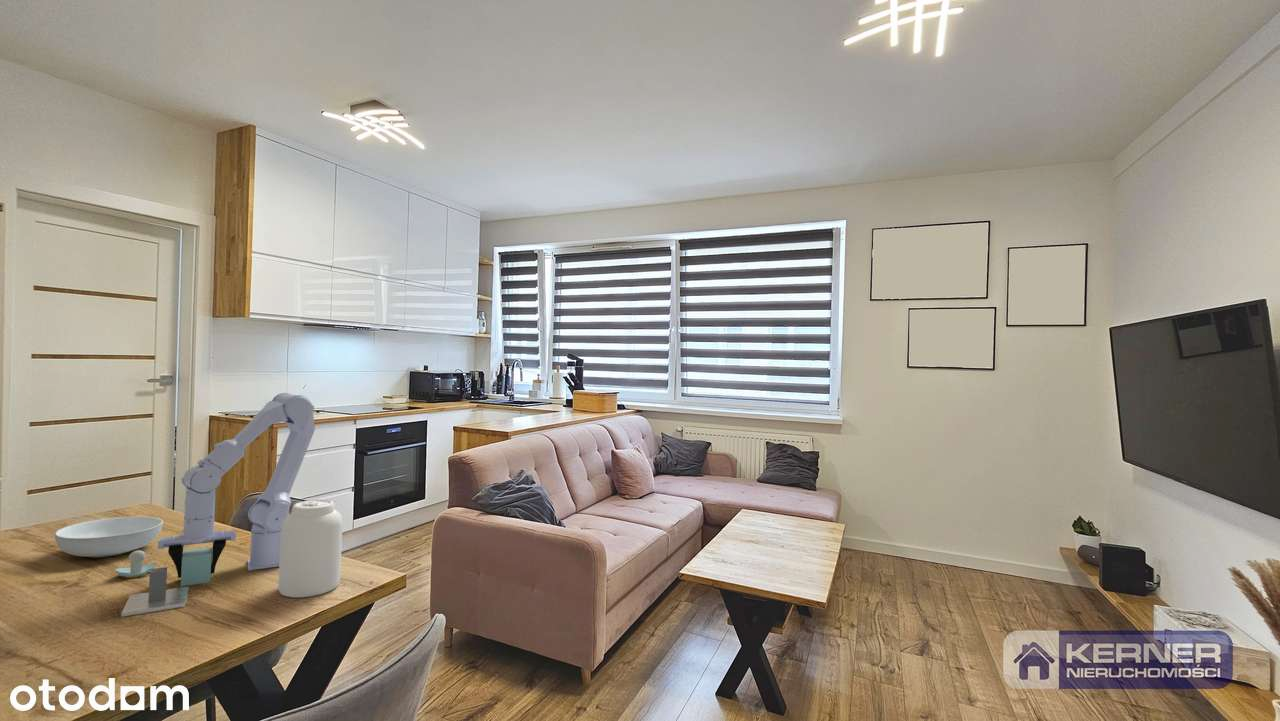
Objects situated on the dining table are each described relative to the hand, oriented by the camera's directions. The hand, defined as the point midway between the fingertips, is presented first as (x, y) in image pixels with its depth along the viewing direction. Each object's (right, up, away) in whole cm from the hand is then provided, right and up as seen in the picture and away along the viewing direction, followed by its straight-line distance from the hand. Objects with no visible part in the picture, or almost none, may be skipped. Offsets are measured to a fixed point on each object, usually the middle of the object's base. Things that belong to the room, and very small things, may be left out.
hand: (196, 574), depth 134 cm
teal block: (0, -1, 0) cm, 1 cm away
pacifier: (-16, -1, +2) cm, 16 cm away
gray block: (+1, -1, -12) cm, 13 cm away
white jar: (+28, -3, -1) cm, 28 cm away
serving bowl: (-35, 0, +16) cm, 39 cm away
